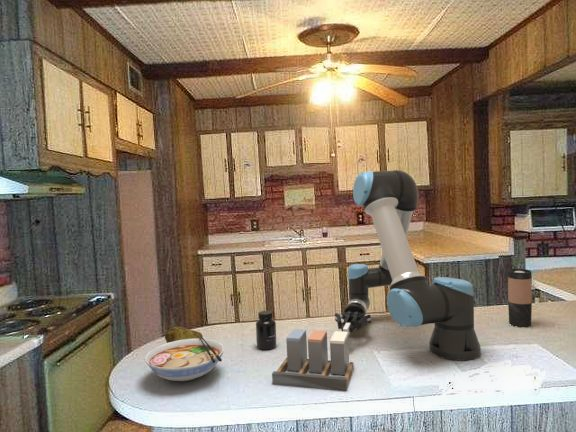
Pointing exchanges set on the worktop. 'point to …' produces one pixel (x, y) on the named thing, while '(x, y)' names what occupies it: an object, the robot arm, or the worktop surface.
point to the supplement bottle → (266, 331)
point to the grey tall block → (339, 352)
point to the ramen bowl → (184, 358)
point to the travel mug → (519, 297)
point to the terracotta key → (317, 351)
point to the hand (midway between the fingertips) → (345, 333)
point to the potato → (181, 334)
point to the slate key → (296, 349)
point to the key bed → (312, 377)
